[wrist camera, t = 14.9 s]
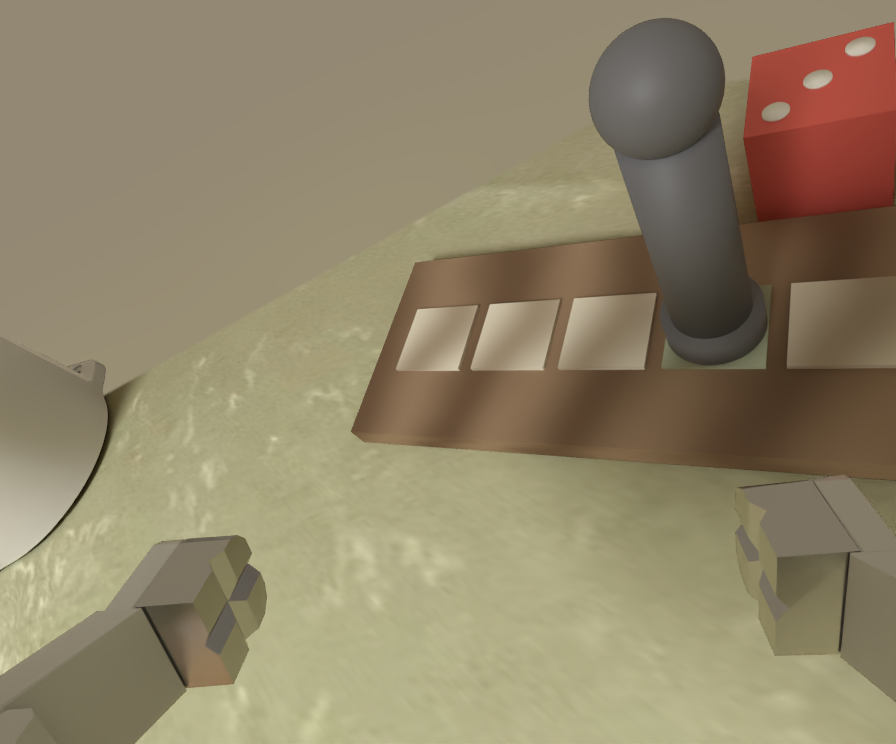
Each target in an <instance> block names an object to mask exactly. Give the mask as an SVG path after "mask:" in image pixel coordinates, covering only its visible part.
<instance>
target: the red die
mask: <svg viewBox="0 0 896 744" xmlns="http://www.w3.org/2000/svg"><path fill="white" fill-rule="evenodd" d="M743 139H744V144H745V150H746V156H747V161H748V167H749V173H750V178H751V184H752V190H753V196H754V201H755V207H756V213H757V218H758V222H763V221H771V220H780V219H788V218H797V217H805V216H814V215H822V214H831V213H839V212H847V211H856V210H864V209H873V208H881V207H890V206H893V196H894V173H895V151H896V63H895V37H894V22H892V23H888V24H884V25H880V26H876V27H871V28H867V29H863V30H859V31H855V32H851V33H847V34H843V35H839V36H835V37H831V38H827V39H823V40H819V41H815V42H811V43H807V44H803V45H798V46H794V47H790V48H786V49H782V50H778V51H774V52H770V53H766V54H762V55H758V56H754V57H752V66H751V74H750V83H749V92H748V101H747V110H746V119H745V128H744V137H743Z"/></svg>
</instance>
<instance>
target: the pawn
mask: <svg viewBox="0 0 896 744" xmlns="http://www.w3.org/2000/svg"><path fill="white" fill-rule="evenodd" d="M724 88H725V72H724V66H723V62H722V58H721V56H720V54H719V51H718V49H717V47H716V46H715V44H714V43H713V41H712V40H711V39H710V38H709V37H708V36H707V35H706V34H705V32H703V31H702V30H701V29H699V28H698V27H696V26H695V25H692V24H690V23H688V22H685V21H682V20H678V19H671V18H660V19H652V20H648V21H644V22H642V23H639V24H637V25H634V26H633V27H631V28H629V29H627V30H626V31H624V32H623V33H621V34H620V35H619V36H618V37H617V38H616V39H615V40H613V41H612V42H611V44H610V45H609V46H608V47H607V48H606V50H605V51H604V52H603V54H602V55H601V57H600V59H599V61H598V62H597V64H596V67H595V69H594V72H593V75H592V78H591V82H590V87H589V107H590V113H591V117H592V120H593V123H594V125H595V127H596V129H597V131H598V133H599V134H600V136H601V137H602V138H603V140H604V141H605V142H606V143H607V144H608V145H609V146H611V147H612V148H613V149H614V150H615V154H616V157H617V160H618V163H619V166H620V169H621V172H622V175H623V178H624V181H625V184H626V187H627V190H628V193H629V196H630V199H631V202H632V205H633V208H634V211H635V214H636V217H637V220H638V223H639V226H640V229H641V232H642V235H643V238H644V241H645V244H646V247H647V250H648V253H649V256H650V259H651V262H652V265H653V268H654V271H655V274H656V277H657V280H658V283H659V285H660V288H661V291H662V294H663V297H664V300H663V302H662V304H661V308H660V321H661V325H662V328H663V331H664V333H665V336H666V339H667V342H668V344H669V346H670V347H671V349H672V350H673V351H674V352H675V353H676V354H677V355H678V356H679V357H681V358H682V359H684V360H686V361H689V362H692V363H695V364H700V365H720V364H725V363H729V362H732V361H735V360H737V359H740V358H742V357H743V356H745V355H747V354H748V353H750V352H751V351H752V350H753V349H754V348H755V347H756V346H757V345H758V344H759V343H760V342H761V340H762V339H763V337H764V335H765V333H766V330H767V325H768V319H767V312H766V306H765V300H764V294H763V292H762V290H761V288H760V286H759V285H758V284H757V283H756V282H755V281H754V280H753V279H752V278H750V277H749V276H748V271H747V266H746V260H745V254H744V249H743V243H742V238H741V232H740V226H739V221H738V215H737V210H736V204H735V198H734V193H733V187H732V181H731V176H730V170H729V165H728V159H727V153H726V148H725V142H724V136H723V131H722V125H721V120H720V114H719V109H720V106H721V103H722V100H723V95H724Z"/></svg>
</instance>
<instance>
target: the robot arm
mask: <svg viewBox="0 0 896 744" xmlns="http://www.w3.org/2000/svg"><path fill="white" fill-rule="evenodd" d="M104 379H105V366H104V365H102V364H100V363H98V362H96V361H94V360H88V361H85V362H81V363H78V364H74V365H71V366H68V367H66V366H64V365H62V364H60V363H58V362H56V361H54V360H52V359H50V358H48V357H47V356H45V355H43V354H41V353H39V352H37V351H35V350H33V349H31V348H29V347H27V346H25V345H23V344H21V343H19V342H17V341H16V340H14V339H12V338H10V337H8V336H6V335H4V334H2V333H0V570H1V569H2V568H4V567H6V566H7V565H9V564H11V563H12V562H14V561H16V560H17V559H19V558H20V557H22V556H23V555H24V554H26V553H27V552H28V551H30V550H31V549H32V548H33V547H34V546H35V545H37V544H38V543H39V542H40V541H41V540H42V539H43V538H44V537H45V536H46V535H47V534H48V533H49V532H50V531H51V530H52V529H53V527H54V526H55V525H56V524H57V523H58V522H59V520H60V519H61V518H62V517H63V515H64V514H65V513H66V512H67V510H68V509H69V508H70V506H71V505H72V503H73V502H74V500H75V499H76V497H77V496H78V494H79V493H80V491H81V490H82V488H83V486H84V485H85V483H86V481H87V479H88V477H89V475H90V474H91V472H92V469H93V467H94V465H95V463H96V461H97V458H98V456H99V453H100V451H101V448H102V445H103V442H104V438H105V434H106V429H107V421H108V411H107V405H106V402H105V399H104V396H103V391H102V389H103V384H104ZM735 510H736V512H737V514H738V516H739V518H740V521H741V523H742V525H741V526H740V527H739V528H738V530H737V531H736V532H735V534H736V552H737V558H738V564H739V569H740V572H741V575H742V578H743V582H744V584H745V587H746V589H747V592H748V594H749V595H750V596H752V597H753V598H755V599H756V600H758V601H759V620H760V622H761V625H762V627H763V629H764V632H765V634H766V636H767V639H768V641H769V643H770V646H771V648H772V650H773V653H774V655H775V656H786V655H824V654H841V658H842V659H844V660H845V661H846V662H847V663H848V664H850V665H851V666H852V667H853V668H855V669H856V670H857V671H858V672H859V673H861V674H862V675H863V676H864V677H866V678H867V679H868V680H869V681H870V682H872V683H873V684H874V685H875V686H877V687H878V688H879V689H880V690H881V691H883V692H884V693H885V694H886V695H888V696H889V697H890V698H891V699H893V700H894V701H895V702H896V535H895V534H894V533H893V531H892V530H891V529H890V528H889V526H888V525H887V524H886V522H885V521H884V520H883V519H882V517H881V516H880V515H879V514H878V512H877V511H876V510H875V509H874V507H873V506H872V505H871V503H870V502H869V501H868V500H867V498H866V497H865V496H864V495H863V493H862V492H861V491H860V489H859V488H858V487H857V486H856V484H855V483H854V482H853V481H852V479H851V478H849V477H847V476H845V475H838V476H830V477H821V478H813V479H808V480H806V481H795V482H785V483H775V484H765V485H756V486H746V487H737V490H736V495H735ZM251 554H252V552H251V550H250V548H249V546H248V544H247V542H246V539H245V538H243V537H240V536H238V535H234V536H220V537H206V538H193V539H186V540H171V541H162V542H159V543H157V544H155V545H153V547H152V548H151V549H150V551H149V552H148V553H147V555H146V556H145V557H144V559H143V560H142V561H141V563H140V564H139V565H138V567H137V568H136V569H135V571H134V572H133V573H132V575H131V576H130V577H129V579H128V580H127V581H126V583H125V584H124V585H123V587H122V588H121V589H120V591H119V592H118V594H117V595H116V596H115V598H114V599H113V600H112V602H111V603H110V604H109V606H108V607H107V608H106V610H105V611H96V612H95V613H93V614H92V615H90V616H89V617H87V618H86V619H84V620H83V621H81V622H80V623H78V624H77V625H76V626H74V627H73V628H71V629H70V630H68V631H67V632H65V633H64V634H62V635H61V636H59V637H58V638H56V639H55V640H53V641H52V642H50V643H49V644H47V645H46V646H44V647H43V648H41V649H40V650H38V651H37V652H35V653H34V654H32V655H31V656H29V657H28V658H26V659H25V660H23V661H22V662H20V663H19V664H17V665H16V666H14V667H13V668H11V669H10V670H8V671H7V672H5V673H4V674H2V675H1V676H0V744H135V743H136V742H137V741H138V740H139V739H140V738H141V737H142V735H143V734H144V733H145V732H146V731H147V730H148V729H149V728H150V727H151V726H152V725H153V724H154V723H155V722H156V721H157V720H158V719H159V718H160V717H161V716H162V715H163V714H164V713H165V712H166V711H167V710H168V709H169V708H170V707H171V706H172V705H173V704H174V703H175V702H176V701H177V700H178V699H179V698H180V697H181V696H182V695H183V694H184V693H185V692H186V688H193V687H205V686H216V685H228V684H234V682H235V680H236V678H237V675H238V673H239V671H240V669H241V667H242V664H243V662H244V660H245V658H246V656H247V653H248V651H249V648H248V645H247V642H246V639H247V638H248V637H249V636H250V635H251V634H252V633H254V632H255V631H256V630H257V629H258V628H259V627H260V624H261V622H262V619H263V617H264V615H265V609H266V600H267V594H266V588H265V583H264V580H263V578H262V575H261V573H260V572H259V571H258V570H256V569H255V568H254V567H252V566H251V565H250V564H248V562H249V559H250V557H251Z"/></svg>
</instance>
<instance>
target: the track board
mask: <svg viewBox="0 0 896 744" xmlns="http://www.w3.org/2000/svg"><path fill="white" fill-rule="evenodd" d="M739 226H740V232H741V238H742V243H743V249H744V254H745V260H746V266H747V271H748V276H749V277H750V278H752V279H753V280H754V281H755V282H756V283H757V284H758V285H759V286H760V288H761V290H762V292H763V294H764V300H765V306H766V312H767V319H768V325H767V330H766V333H765V335H764V337H763V339H762V340H761V342H760V343H759V344H758V345H757V346H756V347H755V348H754V349H753V350H752V351H751V352H750V353H748V354H747V355H745V356H743V357H742V358H740V359H737V360H735V361H732V362H729V363H725V364H720V365H700V364H695V363H692V362H689V361H686V360H684V359H682V358H681V357H679V356H678V355H677V354H676V353H675V352H674V351H673V350H672V349H671V347H670V346H669V344H668V342H667V339H666V336H665V333H664V331H663V328H662V325H661V321H660V308H661V304H662V302H663V300H664V297H663V294H662V291H661V288H660V285H659V283H658V280H657V277H656V274H655V271H654V268H653V265H652V262H651V259H650V256H649V253H648V250H647V247H646V244H645V241H644V238H643V236H636V237H628V238H619V239H611V240H603V241H594V242H586V243H577V244H569V245H560V246H552V247H543V248H535V249H527V250H518V251H510V252H501V253H493V254H484V255H476V256H467V257H459V258H451V259H442V260H434V261H425V262H417V263H415V265H414V268H413V270H412V273H411V275H410V278H409V281H408V283H407V286H406V289H405V291H404V294H403V296H402V299H401V302H400V304H399V307H398V310H397V312H396V315H395V317H394V320H393V323H392V325H391V328H390V330H389V333H388V336H387V338H386V341H385V344H384V346H383V349H382V351H381V354H380V357H379V359H378V362H377V365H376V367H375V370H374V372H373V375H372V378H371V380H370V383H369V385H368V388H367V391H366V393H365V396H364V399H363V401H362V404H361V406H360V409H359V412H358V414H357V417H356V419H355V422H354V425H353V427H352V430H351V432H352V433H353V434H355V435H356V436H357V437H358V438H360V439H361V440H362V441H364V442H373V443H387V444H401V445H415V446H428V447H442V448H456V449H470V450H484V451H498V452H511V453H525V454H539V455H553V456H567V457H580V458H594V459H608V460H622V461H636V462H650V463H663V464H677V465H691V466H705V467H719V468H732V469H746V470H760V471H774V472H788V473H802V474H815V475H829V476H838V475H845V476H847V477H857V478H871V479H885V480H896V206H890V207H881V208H873V209H864V210H856V211H847V212H839V213H831V214H822V215H814V216H805V217H797V218H788V219H780V220H771V221H763V222H755V223H746V224H739Z"/></svg>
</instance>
